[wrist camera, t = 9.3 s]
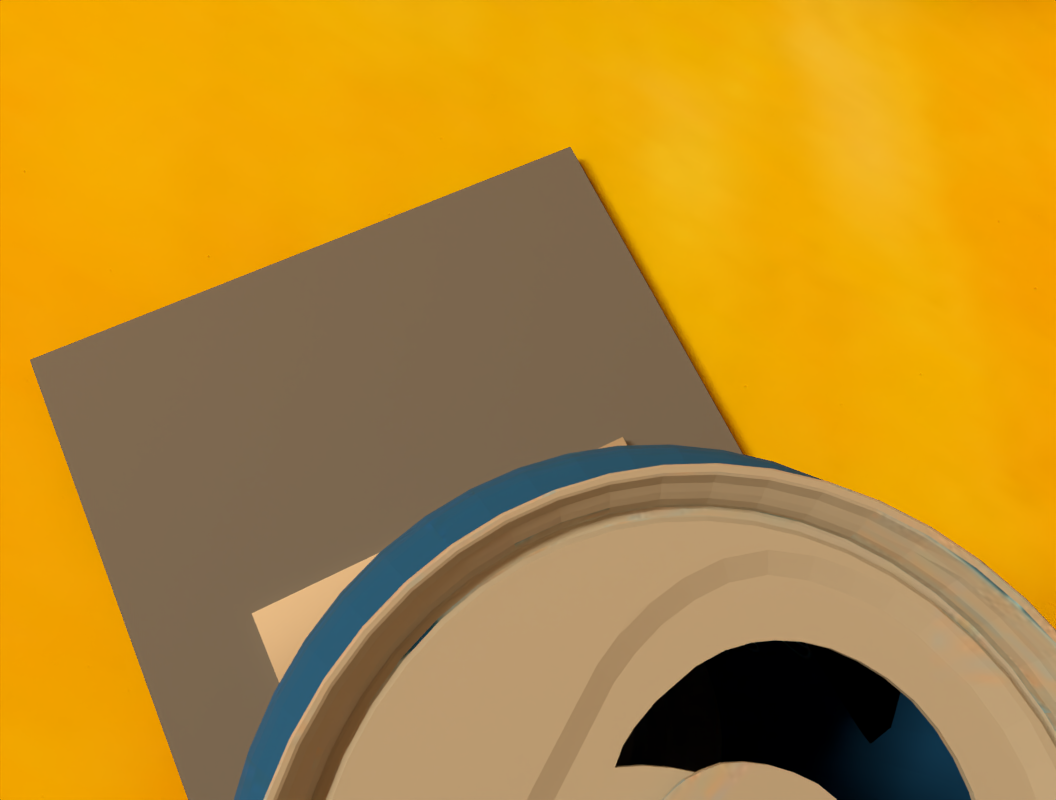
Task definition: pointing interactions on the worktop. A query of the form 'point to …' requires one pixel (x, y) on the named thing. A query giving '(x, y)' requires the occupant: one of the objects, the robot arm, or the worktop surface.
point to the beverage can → (662, 649)
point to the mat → (348, 424)
